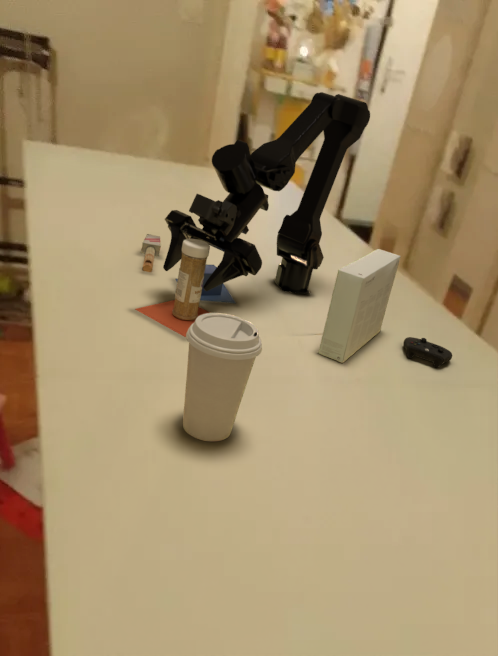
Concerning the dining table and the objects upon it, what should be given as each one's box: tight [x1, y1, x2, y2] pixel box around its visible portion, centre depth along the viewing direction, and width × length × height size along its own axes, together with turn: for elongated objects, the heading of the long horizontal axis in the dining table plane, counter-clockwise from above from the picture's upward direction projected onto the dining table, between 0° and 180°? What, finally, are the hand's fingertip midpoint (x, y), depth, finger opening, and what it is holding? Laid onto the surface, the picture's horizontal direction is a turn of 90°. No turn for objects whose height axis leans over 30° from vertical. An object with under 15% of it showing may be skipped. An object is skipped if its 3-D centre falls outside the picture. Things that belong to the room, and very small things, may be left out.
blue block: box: [201, 264, 224, 295], centre depth 131 cm, size 4×4×4 cm
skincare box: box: [318, 248, 402, 364], centre depth 124 cm, size 21×5×16 cm, turn 154°
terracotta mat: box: [134, 299, 211, 338], centre depth 119 cm, size 12×12×1 cm
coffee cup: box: [182, 312, 263, 442], centre depth 87 cm, size 10×10×15 cm
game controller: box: [403, 336, 453, 368], centre depth 129 cm, size 10×5×6 cm
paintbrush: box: [140, 233, 162, 273], centre depth 142 cm, size 4×3×20 cm
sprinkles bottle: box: [172, 239, 211, 321], centre depth 116 cm, size 5×5×14 cm
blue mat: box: [175, 278, 237, 304], centre depth 132 cm, size 10×10×1 cm
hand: (184, 279), depth 115 cm, fingers open, 9 cm apart
